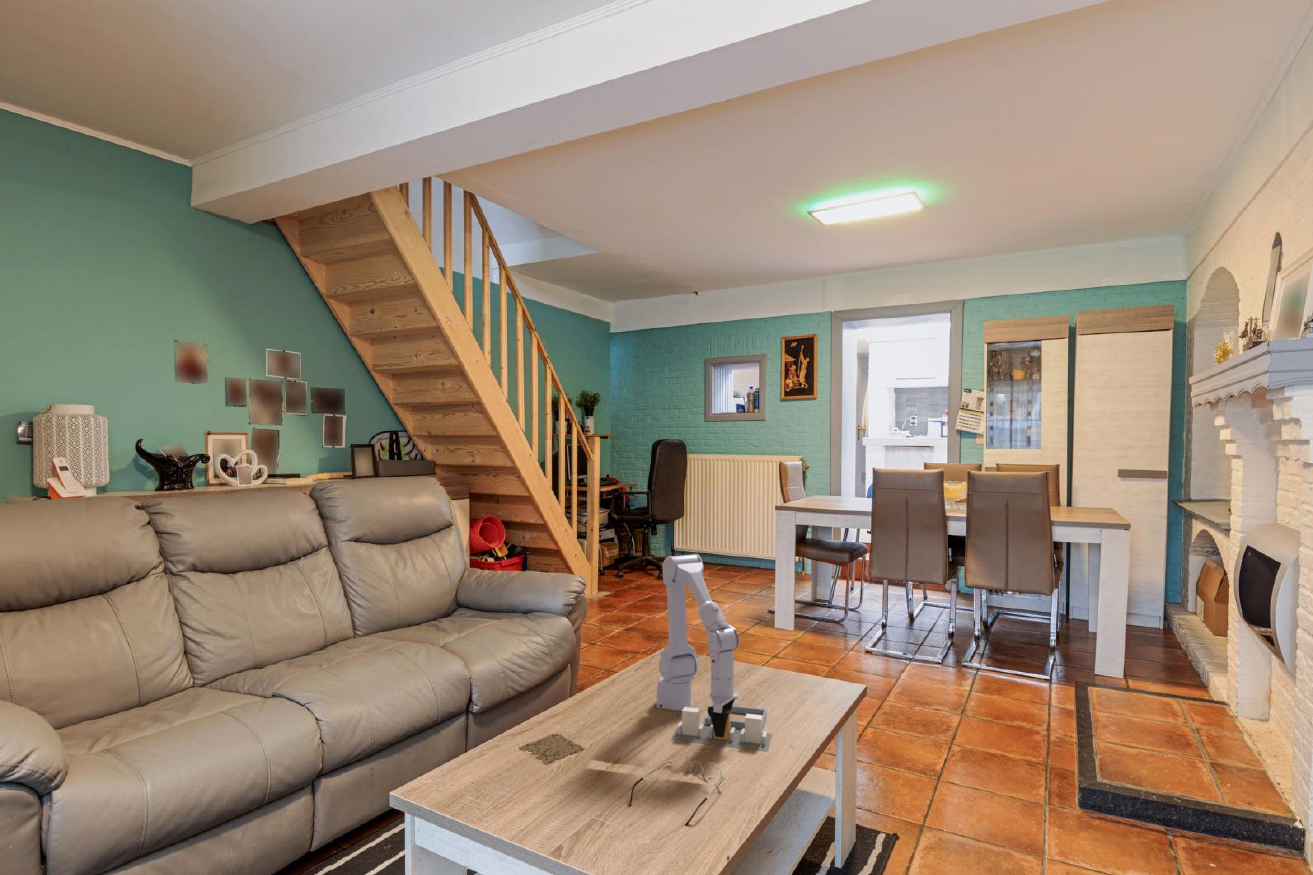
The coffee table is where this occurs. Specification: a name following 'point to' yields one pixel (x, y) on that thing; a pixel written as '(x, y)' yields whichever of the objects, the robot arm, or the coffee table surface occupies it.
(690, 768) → the eyeglasses
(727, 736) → the orange fuse
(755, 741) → the block
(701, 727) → the panel
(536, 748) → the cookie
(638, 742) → the coffee table surface
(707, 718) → the tray
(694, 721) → the block
